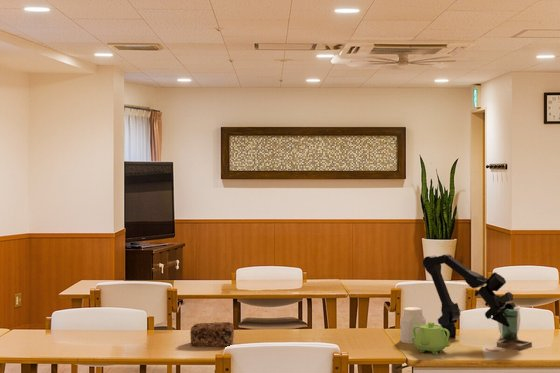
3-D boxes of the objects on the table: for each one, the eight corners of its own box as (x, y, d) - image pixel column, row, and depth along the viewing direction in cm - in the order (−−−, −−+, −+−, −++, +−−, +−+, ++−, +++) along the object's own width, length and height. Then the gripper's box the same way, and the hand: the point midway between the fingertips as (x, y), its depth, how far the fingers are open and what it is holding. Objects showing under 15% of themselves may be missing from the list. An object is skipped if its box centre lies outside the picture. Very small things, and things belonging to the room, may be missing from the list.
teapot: (453, 355, 342) (454, 326, 341) (421, 356, 340) (421, 326, 340) (441, 347, 358) (441, 319, 357) (410, 348, 356) (410, 319, 356)
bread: (234, 342, 368) (234, 320, 368) (231, 347, 357) (231, 325, 357) (193, 342, 369) (193, 320, 369) (189, 347, 358) (189, 324, 358)
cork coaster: (487, 352, 347) (487, 351, 347) (482, 348, 356) (482, 347, 356) (508, 352, 347) (508, 351, 347) (503, 348, 356) (503, 347, 356)
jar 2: (521, 340, 372) (521, 308, 372) (498, 339, 374) (498, 307, 374) (519, 336, 382) (519, 304, 382) (496, 335, 384) (496, 303, 384)
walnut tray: (496, 347, 358) (496, 342, 358) (508, 343, 366) (508, 338, 366) (519, 351, 350) (520, 346, 350) (531, 347, 358) (531, 342, 358)
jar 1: (403, 343, 365) (403, 310, 365) (398, 339, 375) (398, 307, 375) (428, 343, 366) (428, 310, 366) (422, 338, 376) (422, 306, 376)
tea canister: (507, 340, 355) (507, 312, 355) (498, 337, 362) (499, 309, 361) (520, 339, 358) (520, 311, 357) (511, 336, 364) (511, 309, 364)
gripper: (491, 288, 355) (514, 316, 348) (511, 284, 369) (534, 311, 361) (475, 304, 361) (497, 332, 353) (496, 299, 374) (517, 326, 367)
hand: (512, 325), depth 359 cm, fingers closed on tea canister, 6 cm apart
